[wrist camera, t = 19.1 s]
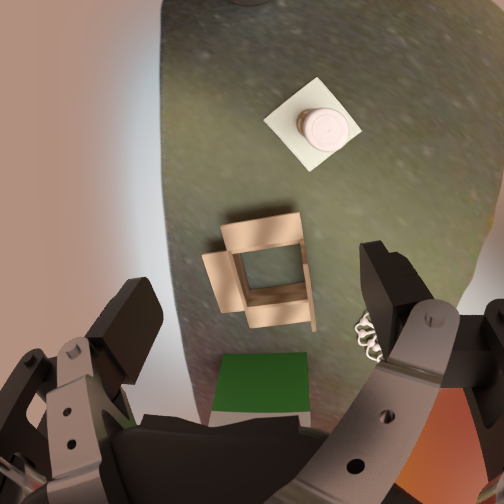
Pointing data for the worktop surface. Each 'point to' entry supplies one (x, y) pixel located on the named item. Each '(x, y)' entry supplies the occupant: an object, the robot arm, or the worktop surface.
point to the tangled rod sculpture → (370, 342)
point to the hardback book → (261, 388)
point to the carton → (235, 281)
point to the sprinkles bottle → (323, 128)
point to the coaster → (287, 115)
